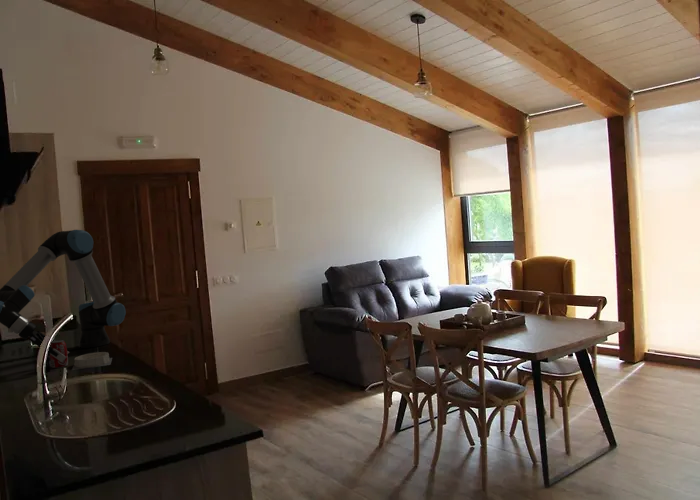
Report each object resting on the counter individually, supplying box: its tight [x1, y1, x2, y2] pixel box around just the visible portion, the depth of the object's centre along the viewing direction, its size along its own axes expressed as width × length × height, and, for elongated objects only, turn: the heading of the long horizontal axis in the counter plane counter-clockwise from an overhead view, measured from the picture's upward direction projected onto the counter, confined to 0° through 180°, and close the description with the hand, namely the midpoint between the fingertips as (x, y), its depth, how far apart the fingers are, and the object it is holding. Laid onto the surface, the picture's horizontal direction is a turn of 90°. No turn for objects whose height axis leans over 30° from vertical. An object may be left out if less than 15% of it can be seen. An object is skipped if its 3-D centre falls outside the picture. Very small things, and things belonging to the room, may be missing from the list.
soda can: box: [49, 339, 69, 369], centre depth 277 cm, size 7×7×12 cm
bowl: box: [74, 351, 110, 369], centre depth 276 cm, size 14×14×4 cm
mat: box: [71, 357, 113, 371], centre depth 277 cm, size 16×16×1 cm
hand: (65, 357), depth 278 cm, fingers open, 11 cm apart
